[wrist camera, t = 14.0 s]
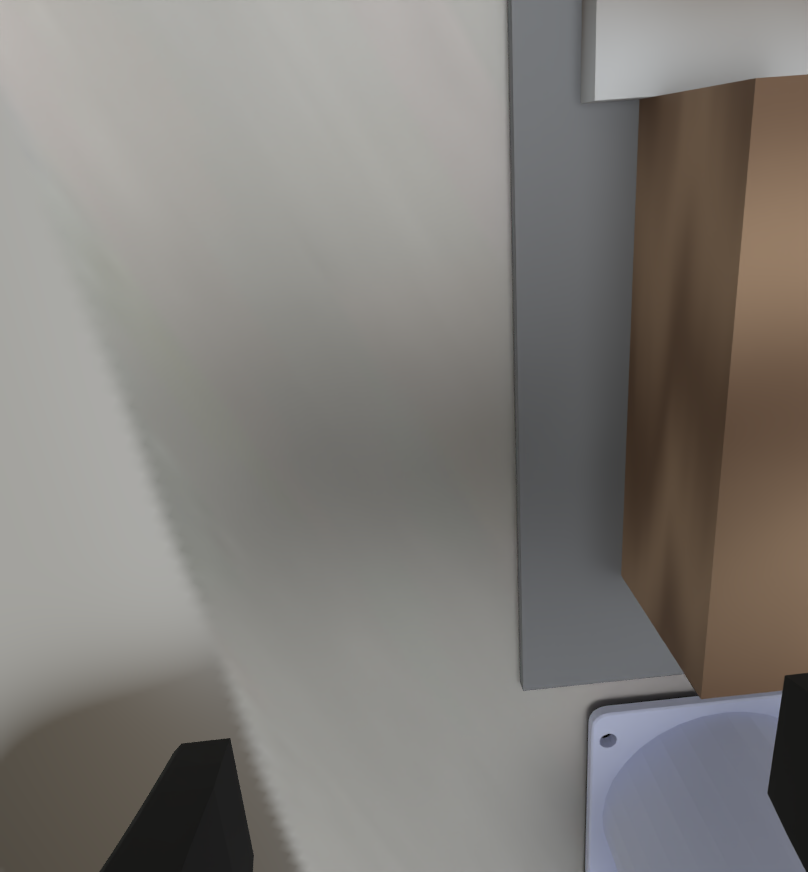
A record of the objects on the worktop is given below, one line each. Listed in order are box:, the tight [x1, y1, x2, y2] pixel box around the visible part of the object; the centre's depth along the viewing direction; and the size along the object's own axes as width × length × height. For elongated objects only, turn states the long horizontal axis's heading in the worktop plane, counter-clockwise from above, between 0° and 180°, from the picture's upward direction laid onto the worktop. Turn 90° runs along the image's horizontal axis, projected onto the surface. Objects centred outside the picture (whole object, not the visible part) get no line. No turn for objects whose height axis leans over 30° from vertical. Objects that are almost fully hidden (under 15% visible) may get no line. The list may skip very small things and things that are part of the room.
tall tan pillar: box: [581, 0, 808, 699], centre depth 15 cm, size 16×5×5 cm, turn 4°
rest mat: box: [508, 0, 684, 691], centre depth 18 cm, size 21×8×1 cm, turn 4°
